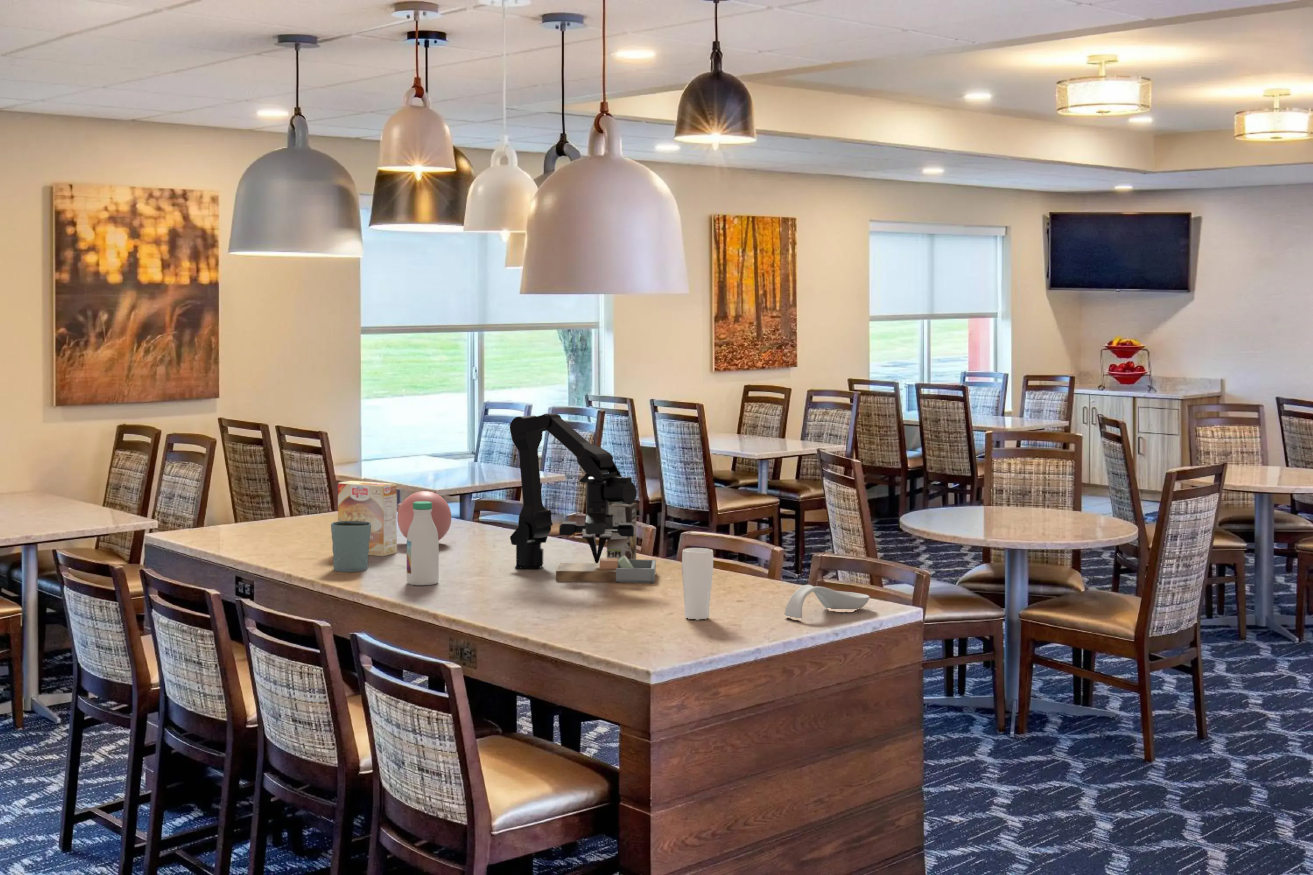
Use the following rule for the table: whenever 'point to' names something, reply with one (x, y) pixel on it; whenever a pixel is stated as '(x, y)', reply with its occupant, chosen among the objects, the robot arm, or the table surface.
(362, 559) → the teal cup
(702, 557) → the drinking glass
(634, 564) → the tray
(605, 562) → the terracotta tile
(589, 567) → the walnut board
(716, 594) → the table surface
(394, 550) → the coffeecake box
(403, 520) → the balloon
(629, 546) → the coffee box
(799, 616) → the spoon rest
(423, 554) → the milk bottle
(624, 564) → the sage tile
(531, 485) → the robot arm
